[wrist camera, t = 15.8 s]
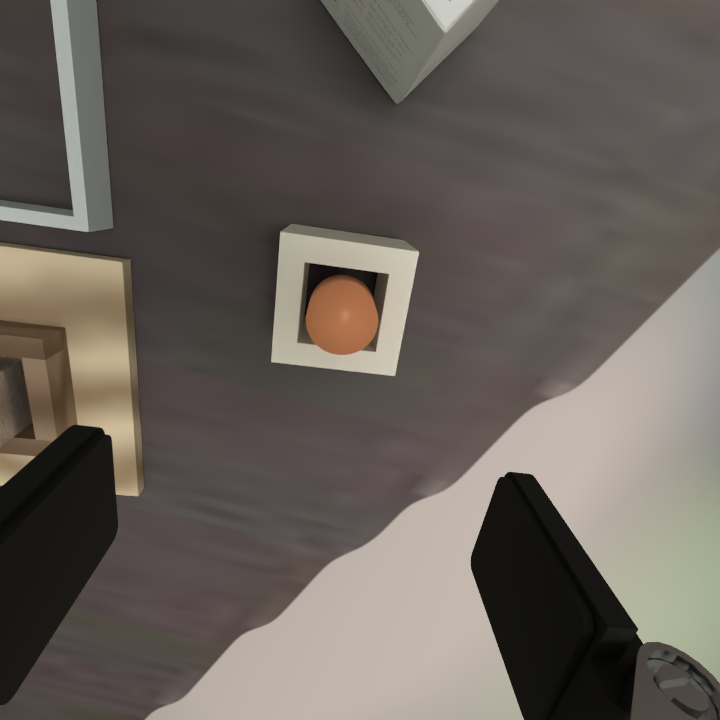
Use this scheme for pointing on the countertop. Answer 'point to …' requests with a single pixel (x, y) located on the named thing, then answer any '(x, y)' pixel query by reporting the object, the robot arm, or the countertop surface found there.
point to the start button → (341, 315)
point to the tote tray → (77, 125)
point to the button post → (344, 251)
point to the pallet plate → (72, 353)
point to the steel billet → (13, 398)
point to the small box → (406, 35)
